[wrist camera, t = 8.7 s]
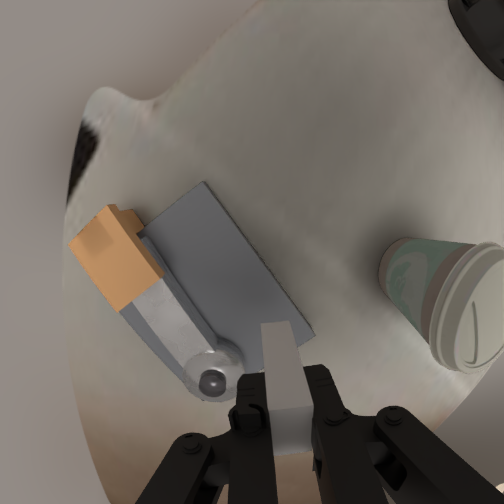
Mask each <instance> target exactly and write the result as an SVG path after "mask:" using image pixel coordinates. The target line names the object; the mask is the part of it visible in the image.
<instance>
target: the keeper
mask: <svg viewBox="0 0 504 504" xmlns="http://www.w3.org/2000/svg"><path fill="white" fill-rule="evenodd" d="M143 228H144V225H143V224H142V222H141V221H140V220H139V218H138V217H137V215H136V214H135V213H134V211H133V210H132V209H130V210H124V211H119V209H118V208H117V206H116V205H115V204H112V205H106V206H105V207H104V208H103V209H102V210H101V211H100V212H99V213H98V214H97V215H96V216H95V217H94V218H93V219H92V220H91V221H90V222H89V223H88V224H87V225H86V226H85V227H84V228H83V229H82V230H81V231H80V232H79V233H78V235H77V236H76V237H75V238H74V239H73V240H72V241H71V242H70V243H69V244H68V245H69V247H70V248H71V250H72V252H73V253H74V255H75V256H76V258H77V259H78V261H79V262H80V264H81V265H82V266H83V268H84V269H85V271H86V272H87V274H88V275H89V276H90V278H91V279H92V281H93V282H94V283H95V285H96V286H97V287H98V289H99V290H100V291H101V293H102V294H103V295H104V297H105V298H106V299H107V301H108V302H109V303H110V304H111V306H112V307H113V308H114V309H115V311H116V312H117V313H118V312H119V311H120V310H121V309H123V308H124V307H125V306H126V305H128V304H129V303H130V302H131V301H133V300H134V299H135V298H136V297H138V296H139V295H140V294H141V293H143V292H144V291H145V290H147V289H148V288H149V287H150V286H152V285H153V284H154V283H156V282H157V281H158V280H160V279H161V278H162V277H163V275H164V274H165V272H164V271H163V270H162V268H161V267H160V266H159V264H158V263H157V262H156V261H155V259H154V258H153V257H152V255H151V254H150V253H149V251H148V250H147V249H146V247H145V246H144V244H143V243H142V242H141V240H140V239H139V238H138V236H137V235H136V234H137V233H138V232H140V231H141V230H142V229H143Z"/></svg>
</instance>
